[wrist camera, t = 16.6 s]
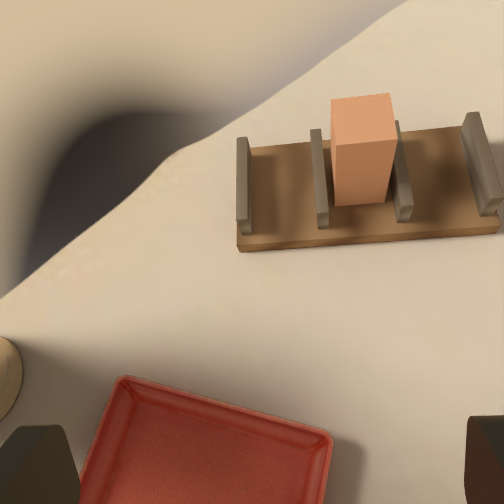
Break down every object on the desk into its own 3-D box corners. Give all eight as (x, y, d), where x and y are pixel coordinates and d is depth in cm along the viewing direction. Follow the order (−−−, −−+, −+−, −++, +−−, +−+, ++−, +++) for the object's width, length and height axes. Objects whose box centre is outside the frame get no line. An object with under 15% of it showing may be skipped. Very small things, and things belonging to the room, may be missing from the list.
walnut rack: (239, 252, 43) (230, 230, 39) (239, 158, 48) (231, 130, 44) (494, 233, 40) (513, 207, 36) (468, 134, 45) (482, 102, 41)
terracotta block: (334, 206, 42) (335, 145, 34) (330, 166, 44) (331, 99, 36) (384, 202, 41) (397, 139, 33) (378, 162, 43) (389, 92, 35)
